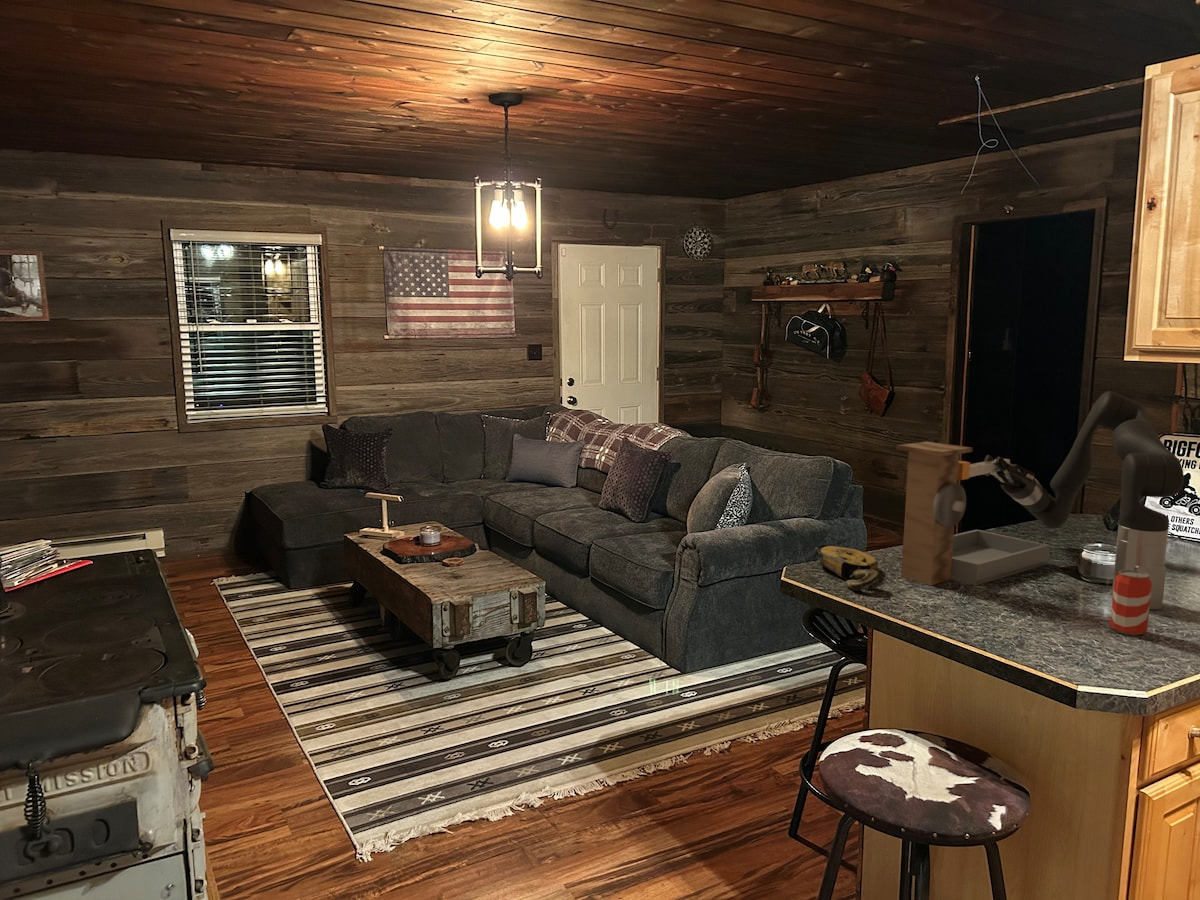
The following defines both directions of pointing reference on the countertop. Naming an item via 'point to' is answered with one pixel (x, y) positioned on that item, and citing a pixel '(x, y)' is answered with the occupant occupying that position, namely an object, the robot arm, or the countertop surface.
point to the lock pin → (977, 468)
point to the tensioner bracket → (931, 510)
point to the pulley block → (850, 565)
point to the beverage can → (1131, 602)
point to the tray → (993, 556)
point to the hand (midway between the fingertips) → (992, 459)
